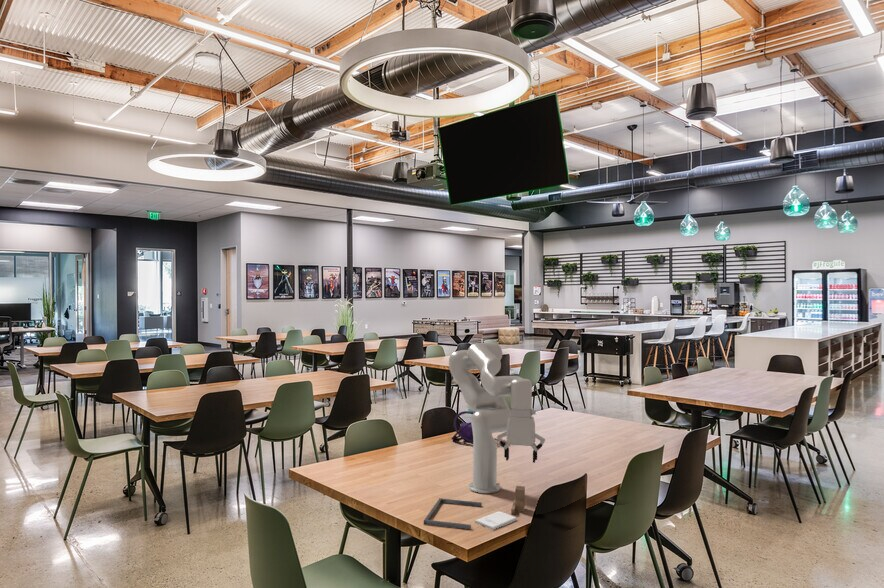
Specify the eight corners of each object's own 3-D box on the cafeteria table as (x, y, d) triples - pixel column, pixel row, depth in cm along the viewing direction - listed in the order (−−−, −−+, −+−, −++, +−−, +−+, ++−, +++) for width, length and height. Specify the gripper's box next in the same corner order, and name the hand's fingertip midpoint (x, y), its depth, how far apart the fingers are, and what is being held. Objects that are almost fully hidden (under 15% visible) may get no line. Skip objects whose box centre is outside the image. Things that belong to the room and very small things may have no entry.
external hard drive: (516, 522, 186) (492, 532, 178) (498, 515, 192) (474, 524, 184) (516, 517, 186) (492, 526, 178) (498, 510, 192) (474, 519, 184)
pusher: (514, 503, 202) (514, 482, 202) (525, 505, 201) (525, 483, 201) (511, 514, 191) (511, 492, 191) (522, 516, 190) (522, 493, 190)
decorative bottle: (462, 434, 310) (462, 390, 311) (496, 438, 300) (496, 393, 301) (443, 442, 291) (444, 395, 291) (479, 447, 281) (480, 399, 281)
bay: (439, 501, 203) (439, 498, 203) (481, 505, 199) (481, 502, 199) (423, 524, 182) (423, 520, 182) (470, 529, 178) (470, 525, 178)
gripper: (545, 412, 198) (545, 459, 198) (498, 410, 202) (498, 456, 202) (544, 416, 191) (544, 465, 190) (496, 413, 195) (495, 461, 194)
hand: (520, 460), depth 196 cm, fingers open, 9 cm apart
